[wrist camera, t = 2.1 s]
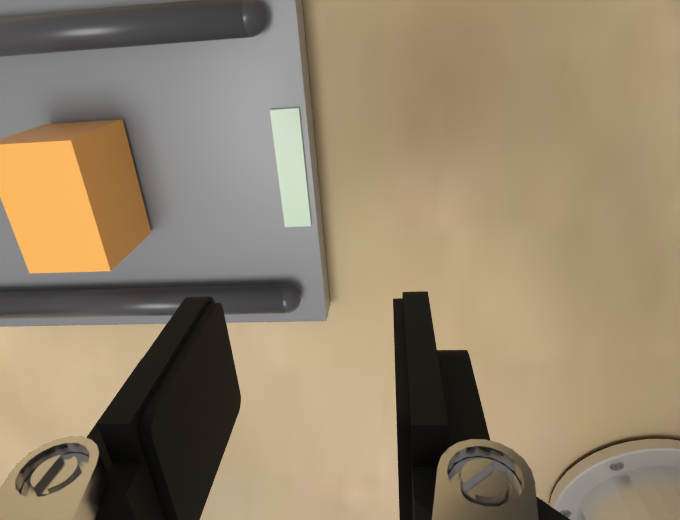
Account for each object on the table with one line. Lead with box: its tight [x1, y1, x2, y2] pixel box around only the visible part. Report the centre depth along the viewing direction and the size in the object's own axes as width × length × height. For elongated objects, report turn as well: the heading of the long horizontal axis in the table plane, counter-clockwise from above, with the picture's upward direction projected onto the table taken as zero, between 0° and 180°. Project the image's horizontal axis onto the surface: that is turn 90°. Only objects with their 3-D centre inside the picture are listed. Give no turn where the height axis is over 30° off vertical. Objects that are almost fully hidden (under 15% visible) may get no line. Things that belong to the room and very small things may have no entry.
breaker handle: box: [0, 119, 151, 273], centre depth 24 cm, size 4×6×4 cm, turn 4°
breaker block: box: [0, 0, 330, 327], centre depth 26 cm, size 22×18×4 cm
